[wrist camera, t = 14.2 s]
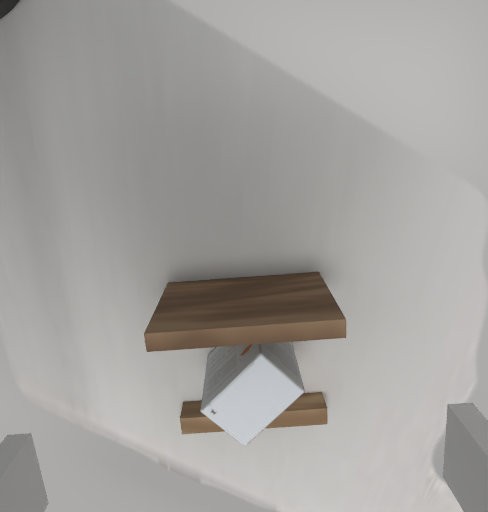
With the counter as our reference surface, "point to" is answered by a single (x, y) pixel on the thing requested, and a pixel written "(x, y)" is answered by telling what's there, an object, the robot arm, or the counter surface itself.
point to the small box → (250, 387)
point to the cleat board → (247, 328)
